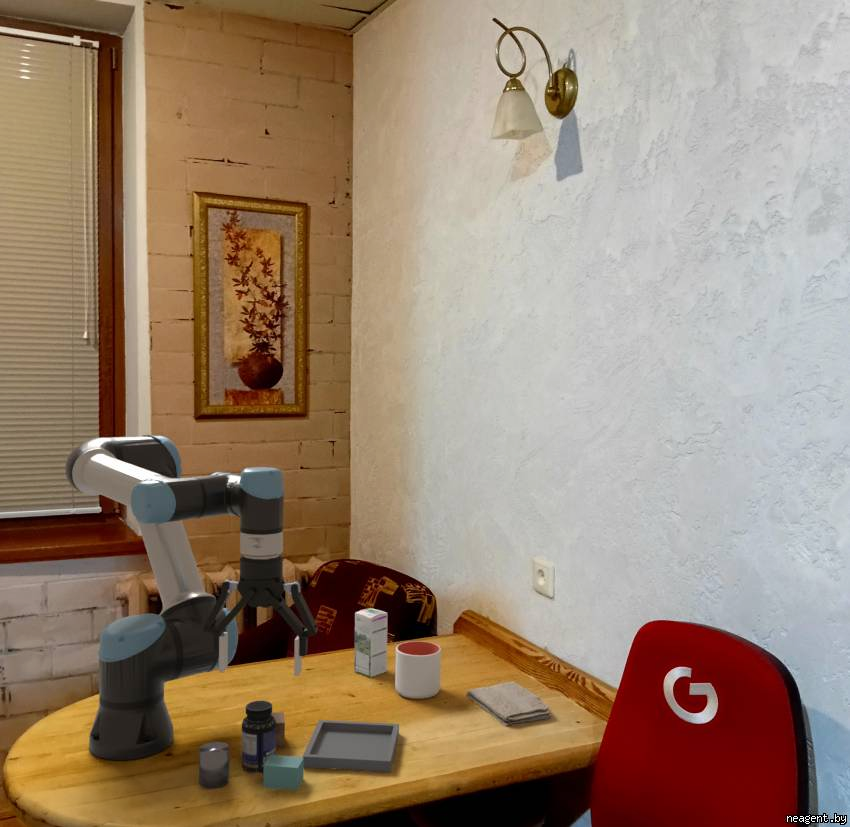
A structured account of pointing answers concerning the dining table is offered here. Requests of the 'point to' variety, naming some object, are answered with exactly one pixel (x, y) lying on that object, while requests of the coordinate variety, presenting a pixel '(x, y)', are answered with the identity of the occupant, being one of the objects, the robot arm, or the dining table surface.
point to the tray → (352, 745)
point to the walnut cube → (279, 729)
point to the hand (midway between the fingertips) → (260, 671)
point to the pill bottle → (258, 735)
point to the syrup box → (370, 642)
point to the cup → (417, 669)
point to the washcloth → (510, 703)
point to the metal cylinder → (214, 765)
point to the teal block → (283, 772)
